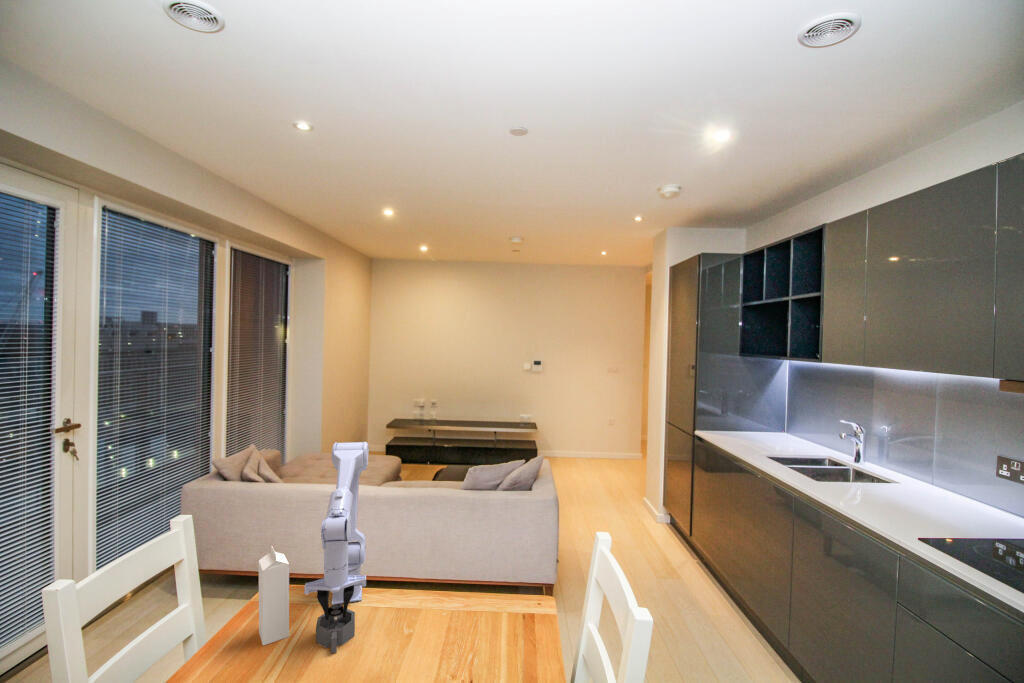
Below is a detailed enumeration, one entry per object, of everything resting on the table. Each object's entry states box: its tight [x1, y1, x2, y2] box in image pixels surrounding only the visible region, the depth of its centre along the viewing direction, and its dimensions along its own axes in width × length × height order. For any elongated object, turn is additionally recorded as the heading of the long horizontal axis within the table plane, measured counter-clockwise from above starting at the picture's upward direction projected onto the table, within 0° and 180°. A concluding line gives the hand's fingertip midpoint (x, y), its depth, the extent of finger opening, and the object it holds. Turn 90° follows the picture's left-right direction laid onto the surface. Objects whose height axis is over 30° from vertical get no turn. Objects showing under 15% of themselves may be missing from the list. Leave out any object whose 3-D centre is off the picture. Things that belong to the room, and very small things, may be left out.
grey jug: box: [315, 608, 356, 654], centre depth 118 cm, size 12×9×4 cm
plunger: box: [326, 603, 346, 630], centre depth 119 cm, size 6×6×6 cm
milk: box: [258, 545, 290, 647], centre depth 118 cm, size 6×6×22 cm
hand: (335, 616), depth 119 cm, fingers closed on plunger, 3 cm apart
